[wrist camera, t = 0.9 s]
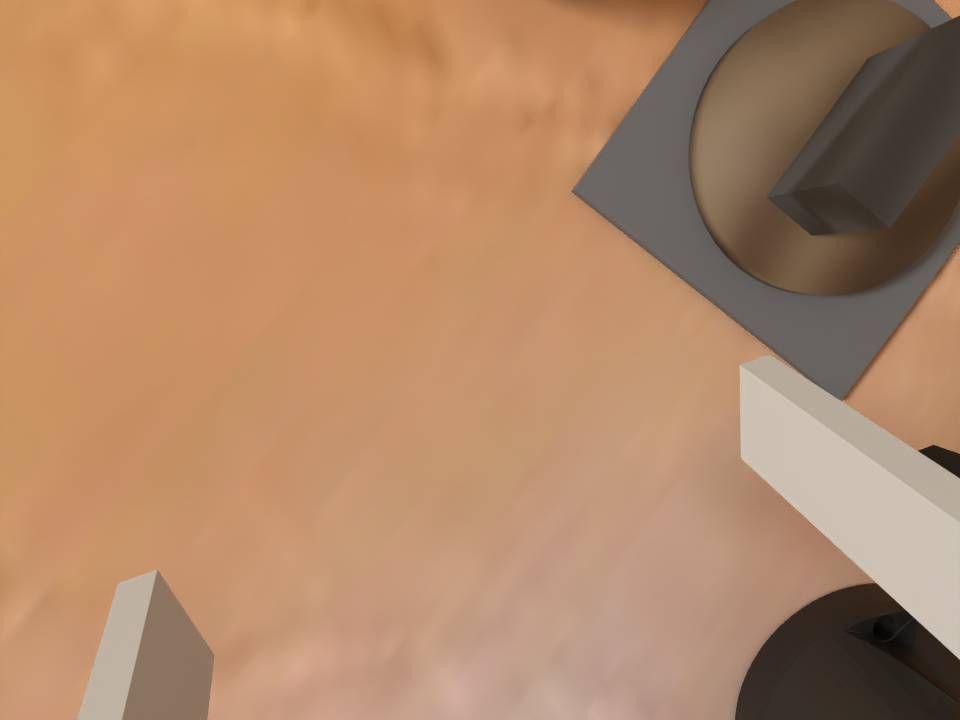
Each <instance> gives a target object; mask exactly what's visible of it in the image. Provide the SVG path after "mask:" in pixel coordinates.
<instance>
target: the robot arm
mask: <svg viewBox="0 0 960 720" xmlns="http://www.w3.org/2000/svg"><path fill="white" fill-rule="evenodd" d="M740 429H741V459H742V460H743V461H744V462H745V463H747V464H748V465H749V466H750V467H751V468H752V469H753V470H754V471H755V472H756V473H757V474H759V475H760V476H761V477H762V478H763V479H764V480H765V481H766V482H767V483H768V484H769V485H770V486H772V487H773V488H774V489H775V490H776V491H777V492H778V493H779V494H780V495H781V496H782V497H784V498H785V499H786V500H787V501H788V502H789V503H790V504H791V505H792V506H793V507H794V508H795V509H797V510H798V511H799V512H800V513H801V514H802V515H803V516H804V517H805V518H806V519H807V520H809V521H810V522H811V523H812V524H813V525H814V526H815V527H816V528H817V529H818V530H819V531H821V532H822V533H823V534H824V535H825V536H826V537H827V538H828V539H829V540H830V541H831V542H832V543H834V544H835V545H836V546H837V547H838V548H839V549H840V550H841V551H842V552H843V553H844V554H846V555H847V556H848V557H849V558H850V559H851V560H852V561H853V562H854V563H855V564H856V565H857V566H859V567H860V568H861V569H862V570H863V571H864V572H865V573H866V574H867V575H868V576H869V577H871V578H872V579H873V580H874V581H875V582H876V583H877V584H878V585H863V586H857V587H852V588H847V589H843V590H840V591H837V592H834V593H831V594H829V595H826V596H824V597H822V598H820V599H818V600H816V601H814V602H812V603H810V604H809V605H807V606H805V607H804V608H802V609H801V610H799V611H798V612H797V613H795V614H794V615H793V616H791V617H790V618H789V619H788V620H787V621H785V622H784V623H783V624H782V625H781V626H780V627H779V628H778V629H777V630H776V631H775V632H774V633H773V634H772V635H771V636H770V638H769V639H768V640H767V641H766V643H765V644H764V645H763V647H762V648H761V649H760V651H759V652H758V654H757V655H756V657H755V659H754V660H753V662H752V664H751V666H750V668H749V670H748V672H747V674H746V677H745V679H744V682H743V684H742V687H741V690H740V694H739V698H738V702H737V707H736V715H735V720H960V454H958V453H955V452H953V451H950V450H947V449H944V448H941V447H938V446H935V445H932V446H929V447H927V448H924V449H922V450H919V451H917V450H915V449H914V448H912V447H911V446H909V445H908V444H906V443H904V442H903V441H901V440H900V439H898V438H897V437H895V436H894V435H892V434H891V433H889V432H888V431H886V430H885V429H883V428H881V427H880V426H878V425H877V424H875V423H874V422H872V421H871V420H869V419H868V418H866V417H865V416H863V415H862V414H860V413H859V412H857V411H855V410H854V409H852V408H851V407H849V406H848V405H846V404H845V403H843V402H842V401H840V400H839V399H837V398H836V397H834V396H832V395H831V394H829V393H828V392H826V391H825V390H823V389H822V388H820V387H819V386H817V385H816V384H814V383H813V382H811V381H809V380H808V379H806V378H805V377H803V376H802V375H800V374H799V373H797V372H796V371H794V370H793V369H791V368H790V367H788V366H786V365H785V364H783V363H782V362H780V361H779V360H777V359H776V358H774V357H773V356H771V355H770V354H769V355H766V356H763V357H761V358H758V359H755V360H752V361H749V362H746V363H744V364H741V365H740ZM213 662H214V654H213V652H212V651H211V649H210V648H209V646H208V645H207V643H206V642H205V640H204V639H203V637H202V636H201V634H200V633H199V631H198V630H197V628H196V627H195V625H194V624H193V622H192V621H191V619H190V618H189V616H188V615H187V613H186V612H185V610H184V609H183V607H182V606H181V604H180V603H179V601H178V600H177V598H176V597H175V595H174V594H173V592H172V591H171V589H170V588H169V586H168V585H167V583H166V582H165V580H164V579H163V577H162V576H161V574H160V573H159V571H158V570H154V571H152V572H149V573H146V574H143V575H140V576H137V577H134V578H132V579H129V580H126V581H123V582H120V583H118V586H117V589H116V593H115V596H114V599H113V603H112V606H111V609H110V613H109V616H108V619H107V623H106V626H105V629H104V633H103V636H102V639H101V643H100V646H99V649H98V653H97V656H96V659H95V662H94V666H93V669H92V672H91V676H90V679H89V682H88V686H87V689H86V692H85V696H84V699H83V702H82V706H81V709H80V712H79V716H78V719H77V720H207V717H208V708H209V699H210V689H211V680H212V671H213Z"/></svg>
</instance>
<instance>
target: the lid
mask: <svg viewBox="0 0 960 720" xmlns="http://www.w3.org/2000/svg"><path fill="white" fill-rule="evenodd" d="M688 155H689V174H690V180H691V186H692V192H693V195H694V199H695V202H696V205H697V209H698V212H699V214H700V216H701V218H702V221H703V223H704V225H705V227H706V229H707V230H708V232H709V234H710V235H711V237H712V239H713V240H714V242H715V243H716V245H717V246H718V247H719V248H720V250H721V251H722V252H723V253H724V254H725V256H726V257H727V258H728V259H729V260H730V261H732V262H733V263H734V264H735V265H736V266H737V267H738V268H739V269H741V270H742V271H743V272H745V273H746V274H748V275H749V276H751V277H752V278H754V279H756V280H758V281H759V282H761V283H763V284H765V285H767V286H770V287H773V288H776V289H779V290H782V291H786V292H791V293H797V294H808V295H832V296H833V295H842V294H851V293H855V292H859V291H863V290H867V289H869V288H872V287H874V286H877V285H879V284H882V283H884V282H886V281H888V280H889V279H891V278H893V277H895V276H897V275H898V274H900V273H901V272H903V271H904V270H905V269H907V268H908V267H909V266H911V265H912V264H913V263H914V262H916V261H917V260H918V259H919V258H920V257H921V256H922V255H923V254H924V253H925V252H926V251H927V250H928V249H929V248H930V246H931V245H932V244H933V243H934V242H935V240H936V239H937V238H938V237H939V235H940V234H941V232H942V231H943V229H944V228H945V226H946V225H947V223H948V222H949V220H950V218H951V216H952V214H953V212H954V210H955V208H956V206H957V204H958V202H959V199H960V16H958V17H956V18H954V19H951V20H949V21H947V22H945V23H943V24H941V25H938V26H936V27H934V28H932V29H931V28H930V27H929V25H927V24H926V23H925V22H924V21H923V20H921V19H920V18H919V17H918V16H917V15H916V14H914V13H913V12H911V11H909V10H908V9H906V8H905V7H903V6H901V5H900V4H898V3H895V2H893V1H891V0H796V1H793V2H791V3H789V4H787V5H785V6H783V7H781V8H779V9H778V10H776V11H774V12H773V13H771V14H770V15H768V16H767V17H766V18H764V19H763V20H761V21H760V22H758V23H757V24H756V25H754V26H753V27H752V28H750V29H749V30H747V31H746V32H745V33H744V34H743V35H742V36H741V37H739V38H738V39H737V40H736V41H735V42H734V43H733V44H732V45H731V46H730V47H729V49H728V50H727V51H726V52H725V54H724V55H723V56H722V57H721V58H720V60H719V61H718V63H717V64H716V66H715V67H714V69H713V71H712V72H711V74H710V75H709V77H708V79H707V81H706V83H705V86H704V88H703V90H702V92H701V94H700V97H699V100H698V103H697V106H696V109H695V112H694V116H693V121H692V126H691V131H690V139H689V152H688Z"/></svg>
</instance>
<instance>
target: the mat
mask: <svg viewBox="0 0 960 720" xmlns="http://www.w3.org/2000/svg"><path fill="white" fill-rule="evenodd" d="M793 1H796V0H708V2H707V3H706V4H705V6H704V7H703V9H702V10H701V11H700V13H699V14H698V16H697V17H696V18H695V20H694V21H693V23H692V24H691V25H690V27H689V28H688V30H687V31H686V32H685V34H684V35H683V36H682V38H681V39H680V41H679V42H678V43H677V45H676V46H675V48H674V49H673V50H672V52H671V53H670V55H669V56H668V57H667V59H666V60H665V62H664V63H663V64H662V66H661V67H660V69H659V70H658V71H657V73H656V74H655V76H654V77H653V78H652V80H651V81H650V83H649V84H648V85H647V87H646V88H645V90H644V91H643V92H642V94H641V95H640V97H639V98H638V99H637V101H636V102H635V104H634V105H633V106H632V108H631V109H630V111H629V112H628V113H627V115H626V116H625V118H624V119H623V120H622V122H621V123H620V125H619V126H618V127H617V129H616V130H615V132H614V133H613V134H612V136H611V137H610V139H609V140H608V141H607V143H606V144H605V146H604V147H603V148H602V150H601V151H600V153H599V154H598V155H597V157H596V158H595V160H594V161H593V162H592V164H591V165H590V167H589V168H588V169H587V171H586V172H585V174H584V175H583V176H582V178H581V179H580V181H579V182H578V183H577V185H576V186H575V188H574V189H573V190H572V192H573V193H574V194H575V195H576V196H578V197H579V198H580V199H581V200H583V201H584V202H585V203H586V204H588V205H589V206H590V207H592V208H593V209H594V210H595V211H597V212H598V213H599V214H600V215H602V216H603V217H604V218H605V219H607V220H608V221H609V222H611V223H612V224H613V225H614V226H616V227H617V228H618V229H619V230H621V231H622V232H623V233H624V234H626V235H627V236H628V237H629V238H631V239H632V240H633V241H635V242H636V243H637V244H638V245H640V246H641V247H642V248H643V249H645V250H646V251H647V252H648V253H650V254H651V255H652V256H653V257H655V258H656V259H657V260H659V261H660V262H661V263H662V264H664V265H665V266H666V267H667V268H669V269H670V270H671V271H672V272H674V273H675V274H676V275H678V276H679V277H680V278H681V279H683V280H684V281H685V282H686V283H688V284H689V285H690V286H691V287H693V288H694V289H695V290H696V291H698V292H699V293H700V294H702V295H703V296H704V297H705V298H707V299H708V300H709V301H710V302H712V303H713V304H714V305H715V306H717V307H718V308H719V309H720V310H722V311H723V312H724V313H726V314H727V315H728V316H729V317H731V318H732V319H733V320H734V321H736V322H737V323H738V324H739V325H741V326H742V327H743V328H745V329H746V330H747V331H748V332H750V333H751V334H752V335H753V336H755V337H756V338H757V339H758V340H760V341H761V342H762V343H763V344H765V345H766V346H767V347H769V348H770V349H771V350H772V351H774V352H775V353H776V354H777V355H779V356H780V357H781V358H782V359H784V360H785V361H786V362H787V363H789V364H790V365H791V366H793V367H794V368H795V369H796V370H798V371H799V372H800V373H801V374H803V375H804V376H805V377H806V378H808V379H809V380H810V381H812V382H813V383H814V384H816V385H817V386H819V387H820V388H822V389H823V390H825V391H826V392H828V393H829V394H831V395H832V396H834V397H836V398H837V399H839V400H840V401H842V400H843V398H844V397H845V396H846V394H847V393H848V392H849V390H850V389H851V388H852V386H853V385H854V384H855V382H856V381H857V379H858V378H859V377H860V375H861V374H862V373H863V371H864V370H865V369H866V367H867V366H868V365H869V363H870V362H871V361H872V359H873V358H874V357H875V355H876V354H877V353H878V351H879V350H880V349H881V347H882V346H883V345H884V343H885V342H886V341H887V339H888V338H889V337H890V335H891V334H892V333H893V331H894V330H895V328H896V327H897V326H898V324H899V323H900V322H901V320H902V319H903V318H904V316H905V315H906V314H907V312H908V311H909V310H910V308H911V307H912V306H913V304H914V303H915V302H916V300H917V299H918V298H919V296H920V295H921V294H922V292H923V291H924V290H925V288H926V287H927V286H928V284H929V283H930V282H931V280H932V279H933V277H934V276H935V275H936V273H937V272H938V271H939V269H940V268H941V267H942V265H943V264H944V263H945V261H946V260H947V259H948V257H949V256H950V255H951V253H952V252H953V251H954V249H955V248H956V247H957V245H958V244H959V243H960V199H959V202H958V204H957V206H956V208H955V210H954V212H953V214H952V216H951V218H950V220H949V222H948V223H947V225H946V226H945V228H944V229H943V231H942V232H941V234H940V235H939V237H938V238H937V239H936V240H935V242H934V243H933V244H932V245H931V246H930V248H929V249H928V250H927V251H926V252H925V253H924V254H923V255H922V256H921V257H920V258H919V259H918V260H917V261H916V262H914V263H913V264H912V265H911V266H909V267H908V268H907V269H905V270H904V271H903V272H901V273H900V274H898V275H897V276H895V277H893V278H891V279H889V280H888V281H886V282H884V283H882V284H879V285H877V286H874V287H872V288H869V289H867V290H863V291H859V292H855V293H851V294H842V295H833V296H832V295H808V294H797V293H791V292H786V291H782V290H779V289H776V288H773V287H770V286H767V285H765V284H763V283H761V282H759V281H758V280H756V279H754V278H752V277H751V276H749V275H748V274H746V273H745V272H743V271H742V270H741V269H739V268H738V267H737V266H736V265H735V264H734V263H733V262H732V261H730V260H729V259H728V258H727V257H726V256H725V254H724V253H723V252H722V251H721V250H720V248H719V247H718V246H717V245H716V243H715V242H714V240H713V239H712V237H711V235H710V234H709V232H708V230H707V229H706V227H705V225H704V223H703V221H702V218H701V216H700V214H699V212H698V209H697V205H696V202H695V199H694V195H693V192H692V186H691V180H690V174H689V155H688V152H689V139H690V131H691V126H692V121H693V116H694V112H695V109H696V106H697V103H698V100H699V97H700V94H701V92H702V90H703V88H704V86H705V83H706V81H707V79H708V77H709V75H710V74H711V72H712V71H713V69H714V67H715V66H716V64H717V63H718V61H719V60H720V58H721V57H722V56H723V55H724V54H725V52H726V51H727V50H728V49H729V47H730V46H731V45H732V44H733V43H734V42H735V41H736V40H737V39H738V38H739V37H741V36H742V35H743V34H744V33H745V32H746V31H747V30H749V29H750V28H752V27H753V26H754V25H756V24H757V23H758V22H760V21H761V20H763V19H764V18H766V17H767V16H768V15H770V14H771V13H773V12H774V11H776V10H778V9H779V8H781V7H783V6H785V5H787V4H789V3H791V2H793ZM891 1H893V2H895V3H898V4H900V5H901V6H903V7H905V8H906V9H908V10H909V11H911V12H913V13H914V14H916V15H917V16H918V17H919V18H920V19H921V20H923V21H924V22H925V23H926V24H927V25H929V27H930V28H931V29H932V28H934V27H936V26H938V25H941V24H943V23H945V22H947V21H949V20H951V19H952V18H951V17H950V16H949V15H948V14H947V13H946V12H945V11H944V10H943V9H942V8H941V7H940V6H939V5H938V4H937V3H936V2H935V1H934V0H891Z"/></svg>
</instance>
